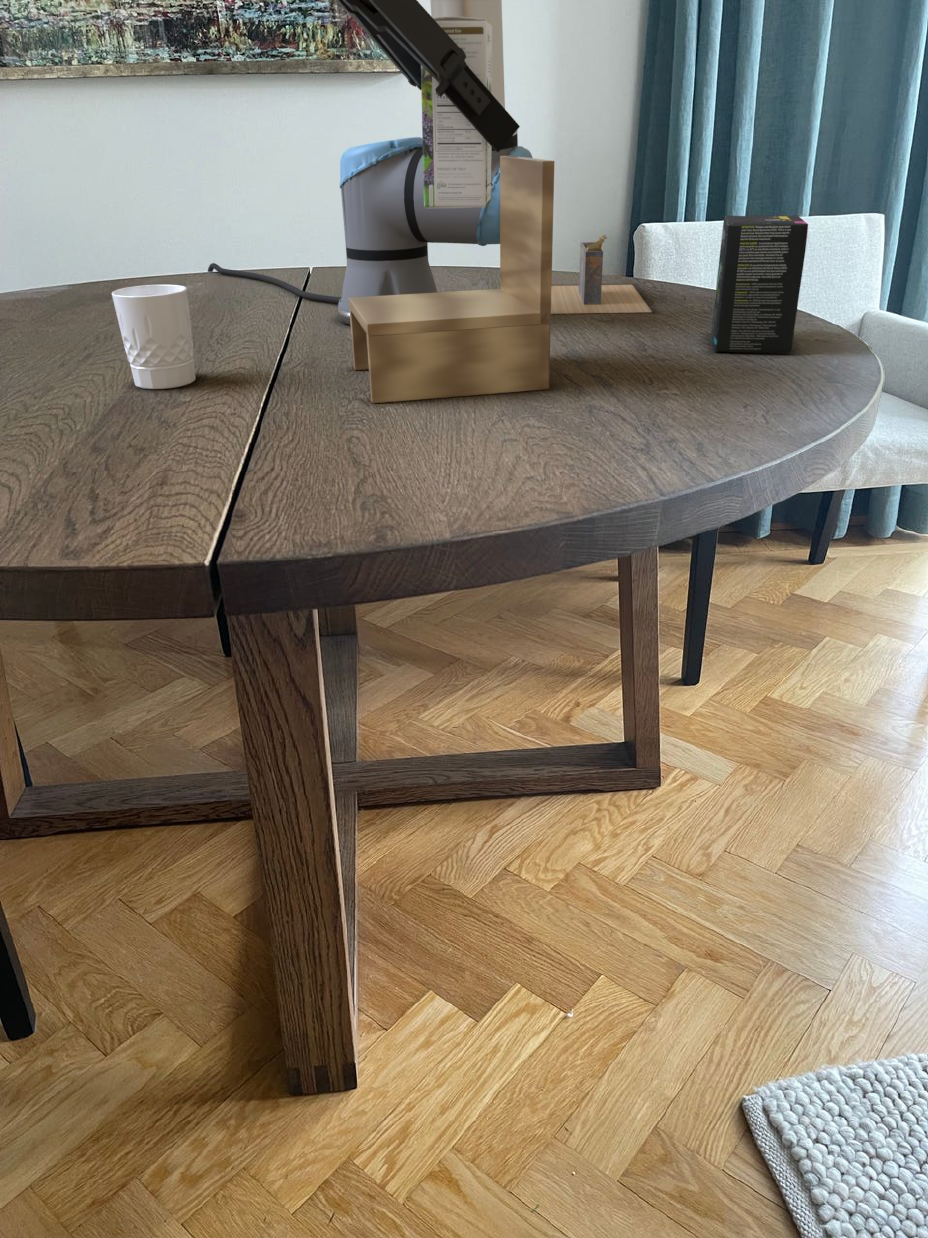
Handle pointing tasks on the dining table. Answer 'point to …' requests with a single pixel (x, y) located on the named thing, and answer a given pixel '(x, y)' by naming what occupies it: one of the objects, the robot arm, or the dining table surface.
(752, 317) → the tampon box
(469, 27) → the syrup box
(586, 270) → the ruin model on sheet
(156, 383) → the white cup
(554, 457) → the dining table surface
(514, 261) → the shelf
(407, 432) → the dining table surface
